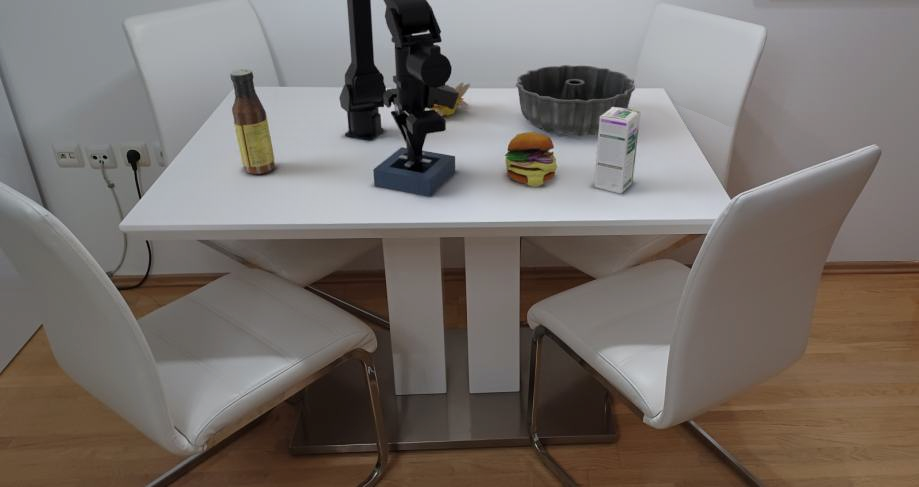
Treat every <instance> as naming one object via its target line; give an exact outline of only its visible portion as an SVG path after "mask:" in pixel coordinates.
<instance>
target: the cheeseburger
mask: <svg viewBox="0 0 919 487" xmlns="http://www.w3.org/2000/svg"><path fill="white" fill-rule="evenodd" d="M554 146H555V145H554V142H553V140H552V138H551V137H550V136H548V135H546V134H543V133H539V132H534V131H529V132H522V133H518V134H516V135H515V136H514V137H513V138H512V139H510V141H509V143H508V146H507V152H506V154H505V155H504V157H505V163H506V164H505V169H506V171H507V176H508V178H510V179H512V180H513V181H516V182H518V183H522V184H526V185H527V186H529V187H534V188H537V187H540V186H542V185H543V184H544V183H547V182H549V181H550V180H552V179H553V178H554V177H555V175H556V171H557V168H558V166H557V158H556V157H555V155H554V151H551V150H553V149H554V148H555V147H554Z"/></svg>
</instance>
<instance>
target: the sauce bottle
mask: <svg viewBox="0 0 919 487" xmlns="http://www.w3.org/2000/svg"><path fill="white" fill-rule="evenodd" d="M229 74H230V80H231V82H232V85H233V90H234V96H235V97H234V103H233V105H232V107H231V112H232V116H233V121H234V122H233V124H234V129H235V133H236V134H235V135H236V138H237V143H238V148H239V154H240V158H241V162H242V165H243V169H244V172H245V173H248V174H251V175H262V174H267V173H269V172H271V171H272V170H274V169H275V155H274V148H273V144H272V137H271V133H270V127H269V122H268V117H267V112H266V110H265V108H264V105H263V104H262V102H261V100H260V98H259V96H258V94H257V91H256V89H255V83H254V73H253V71H252V70H251V69H247V68H244V69H243V68H240V69H236V70H233V71H231V72H230V73H229Z"/></svg>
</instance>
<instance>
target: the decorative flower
mask: <svg viewBox="0 0 919 487" xmlns="http://www.w3.org/2000/svg"><path fill="white" fill-rule="evenodd" d="M470 86H471V83H470V82H469V83H466V84H465V83H464V82H460V83H459V84H458V85H457V86H456V87H453V86H451V87H452V88H453V89H455V90H456V91H457V92H458V93H459V95H458V98H457V101H456V104H455V107H454V109H449V108H448V107H445V106H441V105H437V104H434V108H428V109H429V110H435V111H436V112H437V113H439V114H440V115H441V116H442V117H443V116H448V117H449V116H451V115H453V114H454V113H455V112H456V110H457V109H458V108H459V107H461V108H463V109H468V108H469V104H468V103H467V102H466V101H464V100H465V98H463V97H464V95H465V94H466V93H467V92H468V90H469V88H470ZM426 109H427V108H425V110H426Z"/></svg>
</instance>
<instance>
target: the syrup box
mask: <svg viewBox="0 0 919 487" xmlns="http://www.w3.org/2000/svg"><path fill="white" fill-rule="evenodd" d="M640 117H641V112H640V111H639V110H635V109H631V108H619V107H611V109H610V110H608V111H606V112H605V113H604V114H602V115H601V116H600V121H599V132H598V133H597V134H598V135H597V145H596V157H595V170H594V181H593V186H594V187H595V188H597V189H601V190H604V191H608V192H611V193H616V194H623V192H624V191H625V190H626V189H628V188H629V187H630V186H631V185H632V183H633V182H634V173H635V164H636V155H637V145H638V137H639V129H640V119H641V118H640Z"/></svg>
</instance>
